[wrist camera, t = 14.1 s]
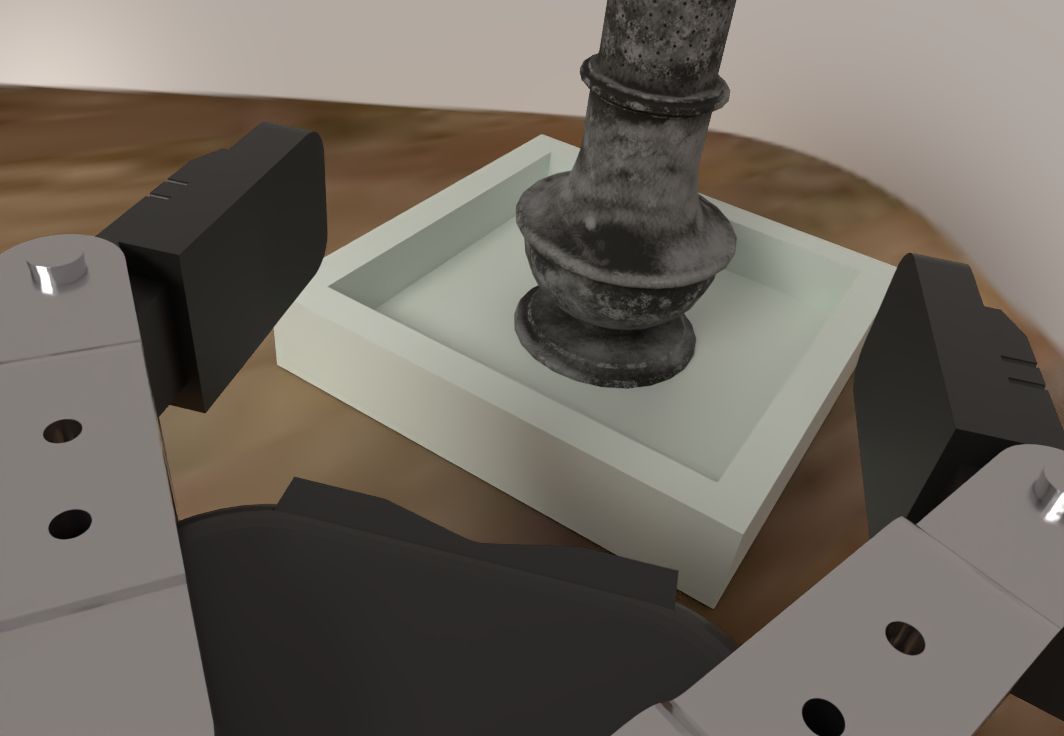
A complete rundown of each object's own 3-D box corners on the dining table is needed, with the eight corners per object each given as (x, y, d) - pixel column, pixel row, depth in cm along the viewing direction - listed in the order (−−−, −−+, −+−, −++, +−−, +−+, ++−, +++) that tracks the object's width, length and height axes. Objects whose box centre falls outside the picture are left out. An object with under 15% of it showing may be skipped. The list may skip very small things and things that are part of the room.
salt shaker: (641, 261, 29) (735, -165, 21) (745, 372, 25) (908, -104, 17) (472, 288, 26) (510, -178, 19) (557, 415, 22) (649, -111, 15)
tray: (277, 364, 24) (269, 287, 22) (533, 196, 33) (541, 134, 31) (713, 609, 19) (743, 534, 18) (873, 335, 28) (903, 269, 27)
